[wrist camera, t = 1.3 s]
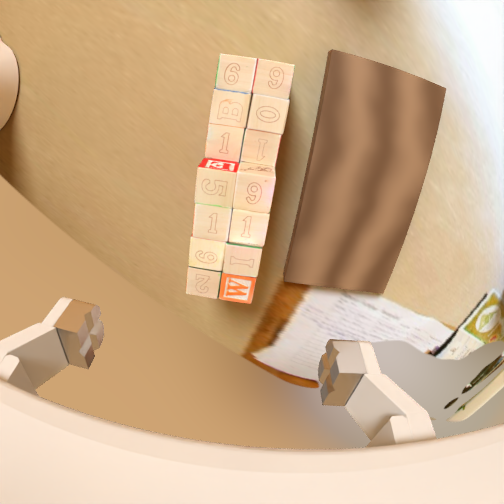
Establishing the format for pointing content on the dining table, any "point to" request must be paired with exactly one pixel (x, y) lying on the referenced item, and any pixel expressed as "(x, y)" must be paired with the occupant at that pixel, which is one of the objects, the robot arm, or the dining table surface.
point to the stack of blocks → (237, 176)
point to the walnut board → (362, 173)
